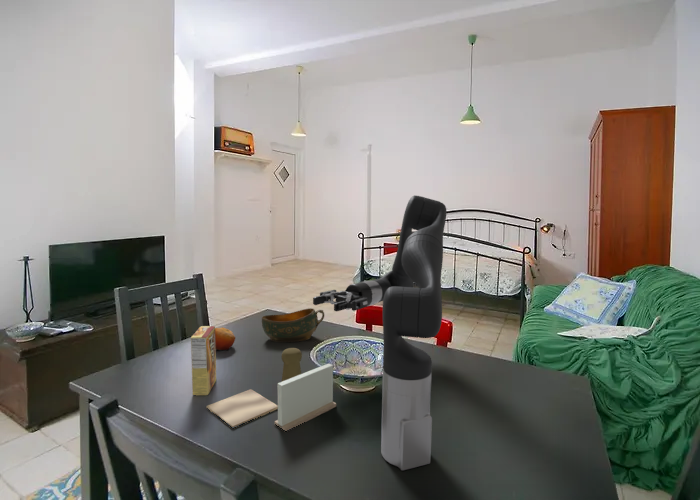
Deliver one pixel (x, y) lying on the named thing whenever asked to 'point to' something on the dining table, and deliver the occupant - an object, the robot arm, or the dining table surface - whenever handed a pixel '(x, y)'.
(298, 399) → the screen
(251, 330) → the dining table surface
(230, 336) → the fruit
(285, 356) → the pepper mill
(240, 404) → the board
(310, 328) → the green gravy boat
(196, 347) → the candy box
